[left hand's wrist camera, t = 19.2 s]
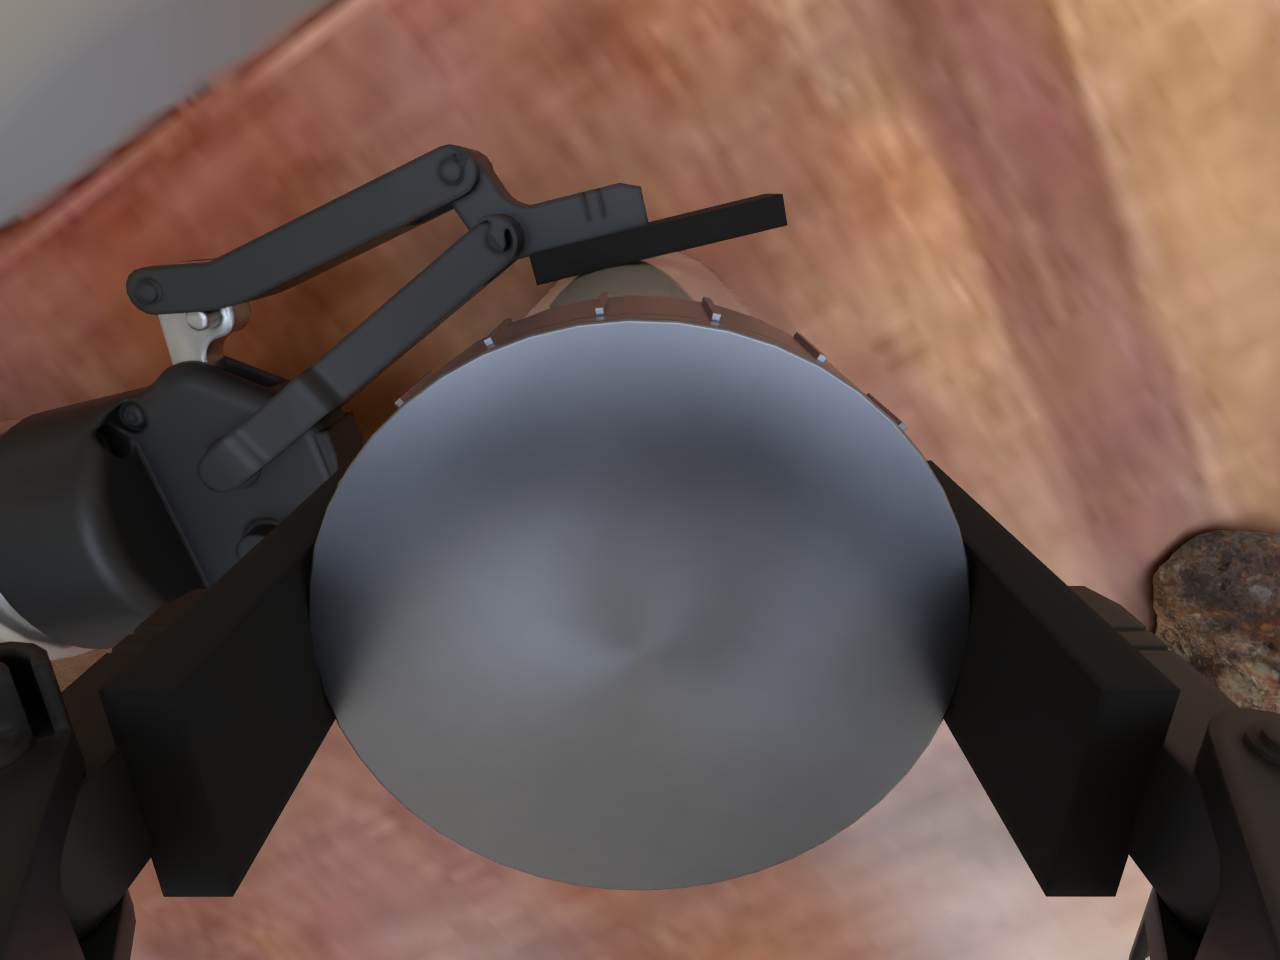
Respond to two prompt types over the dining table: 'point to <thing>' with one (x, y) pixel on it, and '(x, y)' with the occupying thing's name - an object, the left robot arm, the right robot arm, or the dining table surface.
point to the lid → (639, 596)
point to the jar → (645, 283)
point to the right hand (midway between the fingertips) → (799, 370)
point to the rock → (1225, 612)
